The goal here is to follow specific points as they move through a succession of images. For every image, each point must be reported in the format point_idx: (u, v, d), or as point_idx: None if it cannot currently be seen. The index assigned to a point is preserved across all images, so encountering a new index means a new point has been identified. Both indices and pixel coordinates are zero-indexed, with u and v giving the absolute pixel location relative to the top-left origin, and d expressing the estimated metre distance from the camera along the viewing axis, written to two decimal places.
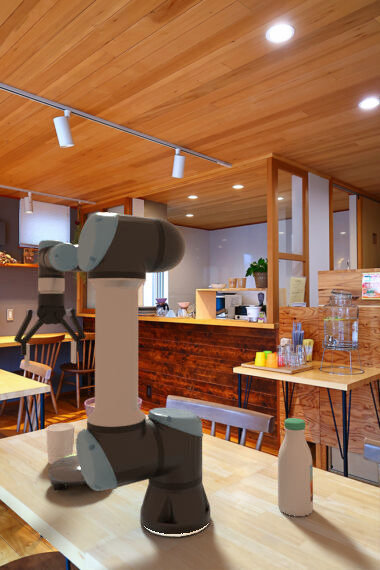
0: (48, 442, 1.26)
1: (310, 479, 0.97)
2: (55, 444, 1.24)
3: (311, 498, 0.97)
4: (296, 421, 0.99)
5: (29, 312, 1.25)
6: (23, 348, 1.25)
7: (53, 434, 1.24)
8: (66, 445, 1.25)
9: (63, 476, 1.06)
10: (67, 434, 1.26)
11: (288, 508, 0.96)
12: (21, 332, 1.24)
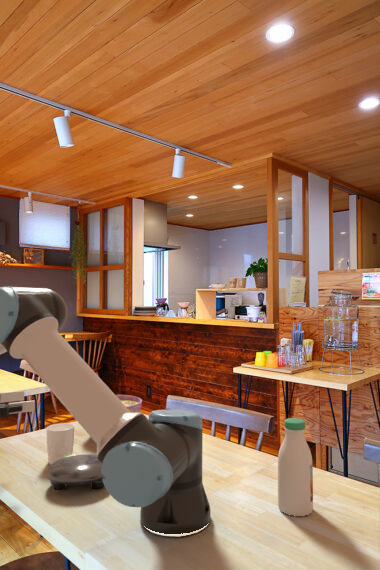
0: (48, 442, 1.26)
1: (310, 479, 0.97)
2: (55, 444, 1.24)
3: (311, 498, 0.97)
4: (296, 421, 0.99)
5: None
6: (14, 406, 1.14)
7: (53, 434, 1.24)
8: (66, 445, 1.25)
9: (63, 476, 1.06)
10: (67, 434, 1.26)
11: (288, 508, 0.96)
12: None
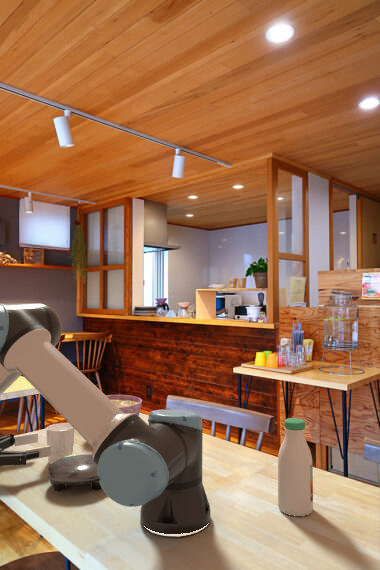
0: (48, 442, 1.26)
1: (310, 479, 0.97)
2: (55, 444, 1.24)
3: (311, 498, 0.97)
4: (296, 421, 0.99)
5: None
6: (31, 452, 1.17)
7: (53, 434, 1.24)
8: (66, 445, 1.25)
9: (63, 476, 1.06)
10: (67, 434, 1.26)
11: (288, 508, 0.96)
12: (13, 455, 1.14)
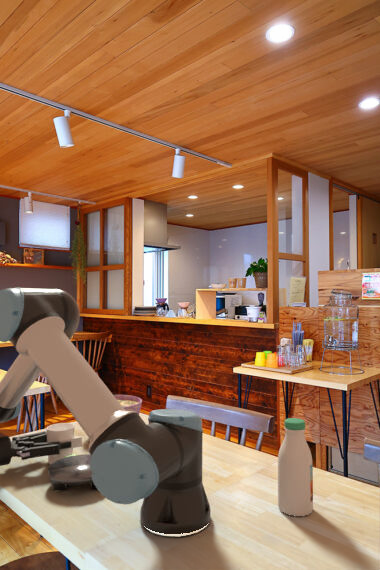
0: None
1: (310, 479, 0.97)
2: None
3: (311, 498, 0.97)
4: (296, 421, 0.99)
5: (25, 449, 1.17)
6: (64, 443, 1.24)
7: (53, 434, 1.24)
8: None
9: (63, 476, 1.06)
10: (67, 434, 1.26)
11: (288, 508, 0.96)
12: (48, 446, 1.20)
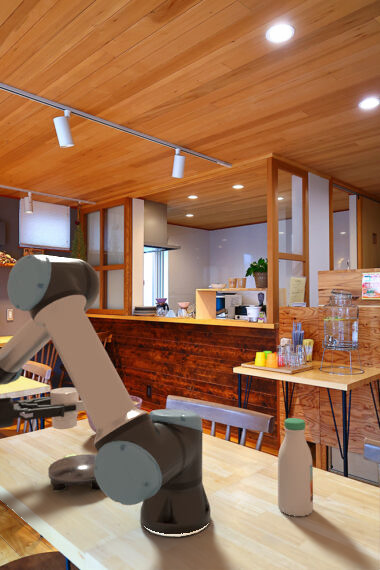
0: None
1: (310, 479, 0.97)
2: None
3: (311, 498, 0.97)
4: (296, 421, 0.99)
5: (28, 410, 1.12)
6: (68, 405, 1.19)
7: (57, 397, 1.20)
8: None
9: (63, 476, 1.06)
10: (72, 397, 1.21)
11: (288, 508, 0.96)
12: (52, 407, 1.15)
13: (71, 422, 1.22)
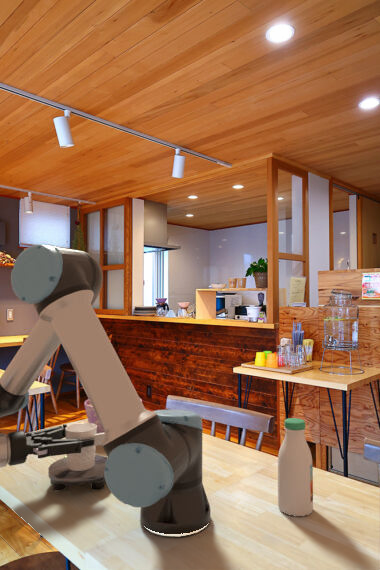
0: None
1: (310, 479, 0.97)
2: None
3: (311, 498, 0.97)
4: (296, 421, 0.99)
5: (42, 446, 1.02)
6: (86, 440, 1.08)
7: (73, 435, 1.09)
8: (88, 448, 1.10)
9: (63, 476, 1.06)
10: None
11: (288, 508, 0.96)
12: (68, 443, 1.04)
13: (89, 463, 1.10)
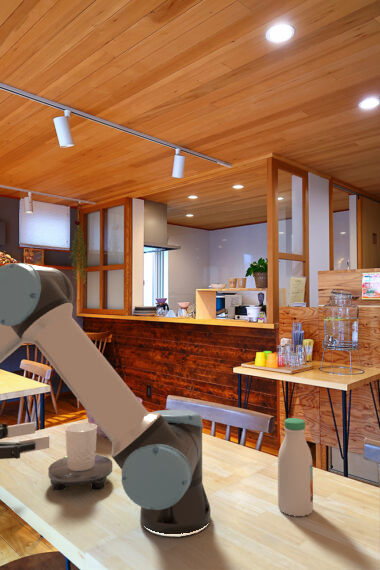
0: (68, 444, 1.10)
1: (310, 479, 0.97)
2: (76, 447, 1.09)
3: (311, 498, 0.97)
4: (296, 421, 0.99)
5: None
6: (25, 444, 0.98)
7: (74, 435, 1.09)
8: (88, 448, 1.10)
9: (63, 476, 1.06)
10: (90, 435, 1.10)
11: (288, 508, 0.96)
12: (4, 447, 0.95)
13: (89, 463, 1.10)
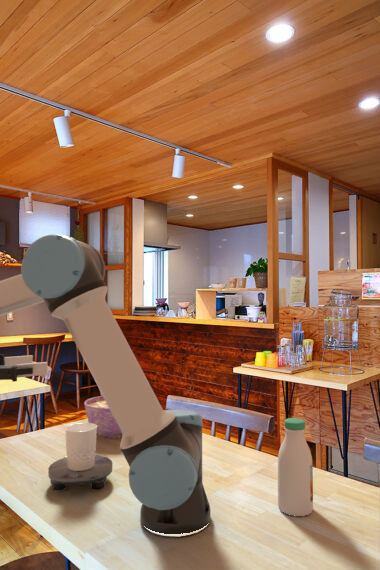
0: (68, 444, 1.10)
1: (310, 479, 0.97)
2: (76, 447, 1.09)
3: (311, 498, 0.97)
4: (296, 421, 0.99)
5: None
6: (23, 367, 0.94)
7: (74, 435, 1.09)
8: (88, 448, 1.10)
9: (63, 476, 1.06)
10: (90, 435, 1.10)
11: (288, 508, 0.96)
12: (0, 368, 0.91)
13: (89, 463, 1.10)
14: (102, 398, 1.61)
